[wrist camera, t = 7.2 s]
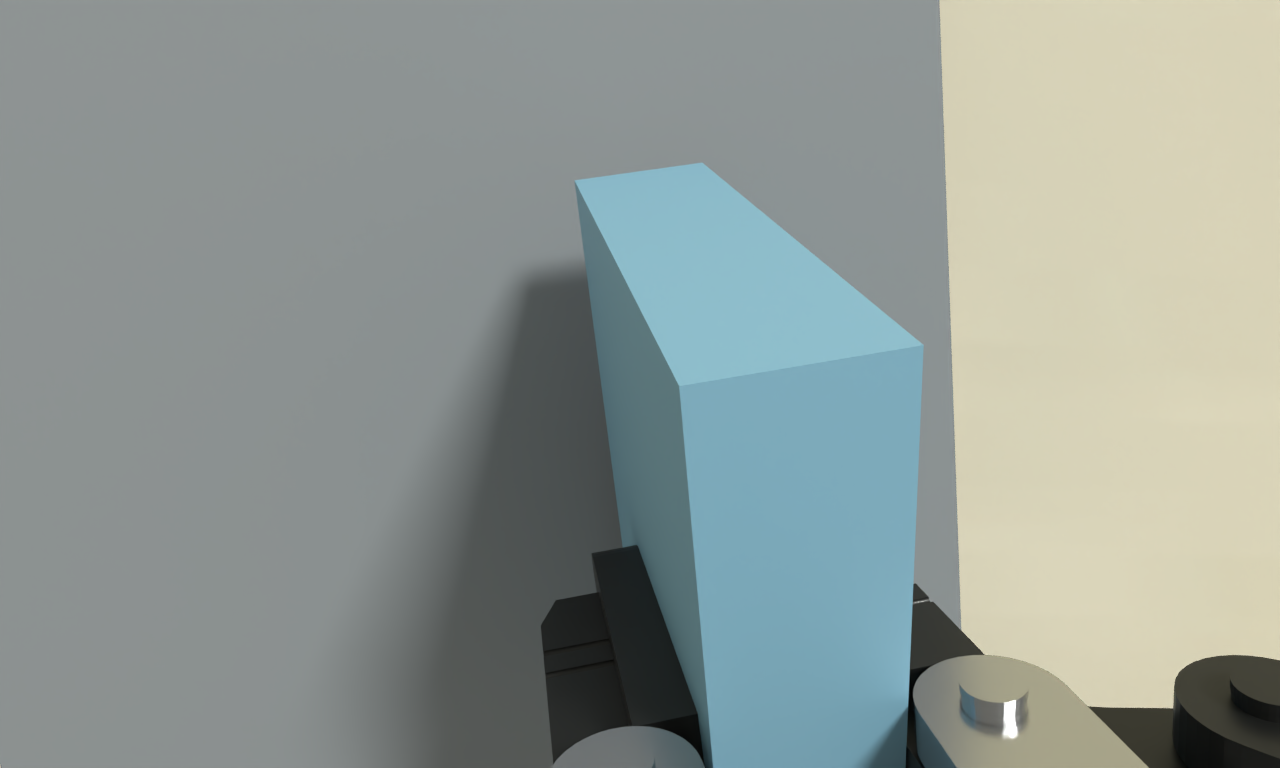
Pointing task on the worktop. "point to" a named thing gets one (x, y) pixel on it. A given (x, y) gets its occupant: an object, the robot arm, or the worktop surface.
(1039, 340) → the worktop surface
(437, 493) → the mat
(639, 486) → the block
